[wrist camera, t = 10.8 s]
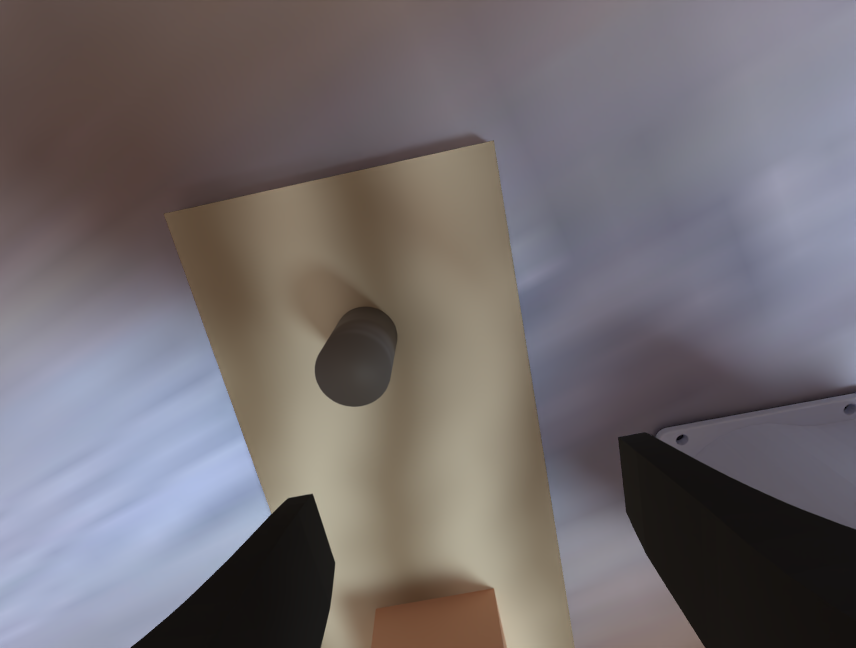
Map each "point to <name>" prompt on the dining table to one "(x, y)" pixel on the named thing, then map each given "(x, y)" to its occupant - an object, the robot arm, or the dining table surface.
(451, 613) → the collar
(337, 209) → the board
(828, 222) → the dining table surface
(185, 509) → the dining table surface
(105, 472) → the dining table surface
